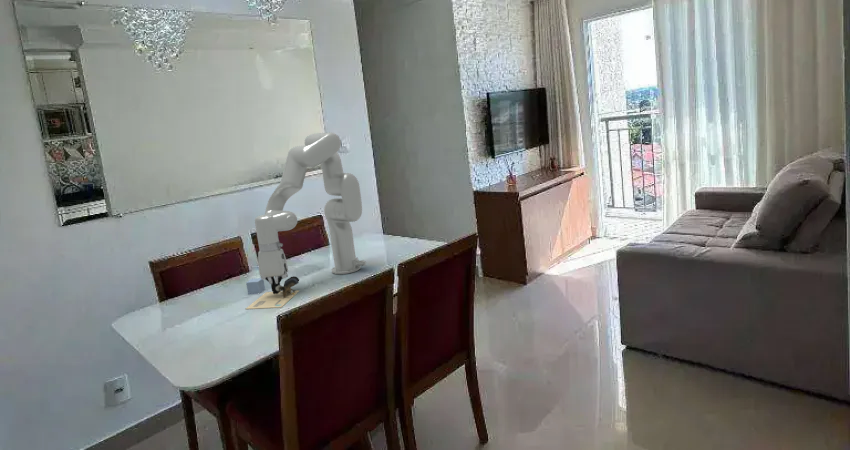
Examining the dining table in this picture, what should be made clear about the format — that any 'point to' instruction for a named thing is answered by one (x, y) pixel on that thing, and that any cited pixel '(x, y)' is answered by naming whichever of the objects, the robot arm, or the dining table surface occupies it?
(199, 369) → the dining table surface
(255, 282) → the blue block
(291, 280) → the squirrel figurine
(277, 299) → the letter
